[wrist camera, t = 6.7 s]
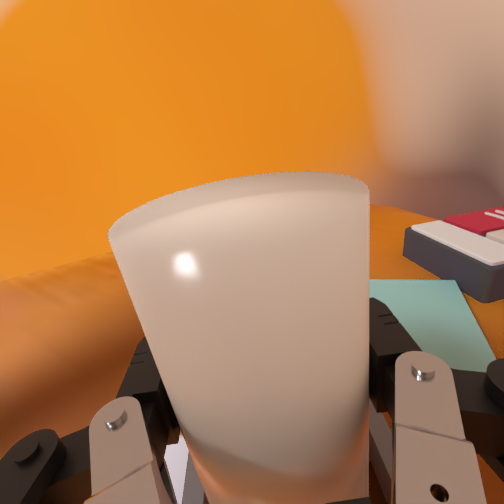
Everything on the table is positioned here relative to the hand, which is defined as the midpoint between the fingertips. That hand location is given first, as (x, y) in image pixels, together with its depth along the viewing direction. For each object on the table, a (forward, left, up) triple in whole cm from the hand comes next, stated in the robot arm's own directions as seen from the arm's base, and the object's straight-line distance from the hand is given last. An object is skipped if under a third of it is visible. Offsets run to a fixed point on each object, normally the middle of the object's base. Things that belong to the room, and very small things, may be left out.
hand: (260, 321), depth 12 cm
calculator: (+18, +25, -11) cm, 33 cm away
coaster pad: (+6, +14, -11) cm, 18 cm away
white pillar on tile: (0, -1, -9) cm, 9 cm away
